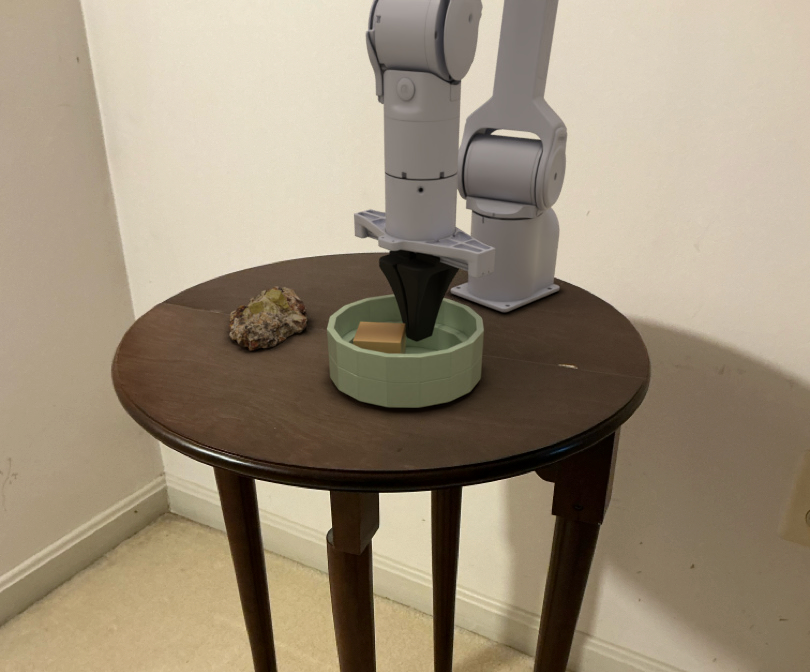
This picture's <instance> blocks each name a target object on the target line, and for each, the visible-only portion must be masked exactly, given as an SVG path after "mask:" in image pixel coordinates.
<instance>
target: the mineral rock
mask: <svg viewBox="0 0 810 672" xmlns="http://www.w3.org/2000/svg"><path fill="white" fill-rule="evenodd" d="M307 311H308V310H307V307H306V305H305V303H304V301H303V300H301V298H300V297H299V296H298V295H297V294H296V292H295V291H294V290H293V288H287V287H285V286H282V287H281V286H273V287H272V288H267V289H264V290H261V293H258V294H257V295H254V296H253V297H251V298H250V299H249V300H248V305H244V304H240V305H239V306H238V307H236V309H235V310H233V311H231V312H230V314H229V323H228V327H229V328H228V330H229V331H230V332H229V333H228V335H229V338H230V339H231V340H232V341H236V342H237V344H238V345H239V346H240V347H242V348H243V347H245V348H248V351H250V352H253V351H256V350H258V349H269V348H272V347H276V346H277V345H278V344H281V343H283V342H284V341H285V340H286V339H287V338H288V337H290V336H292V335H294V334H300V333H302V332H303V331H306V327H307V322H308V317H307V316H308V312H307Z"/></svg>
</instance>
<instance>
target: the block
mask: <svg viewBox="0 0 810 672" xmlns="http://www.w3.org/2000/svg"><path fill="white" fill-rule="evenodd" d="M353 345H355V346H357V347H360V348H362V349H367V350H372V351H378V352H383V353H388V354H406V324H405V323H382V322H360V324H359V326H358V329H357V332H356V334H355V337H354V339H353Z"/></svg>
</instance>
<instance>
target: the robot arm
mask: <svg viewBox="0 0 810 672" xmlns="http://www.w3.org/2000/svg"><path fill="white" fill-rule="evenodd" d="M558 7H559V0H503V7H502V16H501V22H500V23H501V24H500V32H499V40H498V47H497V54H496V63H495V64H496V65H495V72H494V81H493V88H492V95H491V96H490V98H488V99H487V100H486V101H485V102H484V103H483V104H481V105H480V106H479V107H478V108H476V109H475V110H474V111H473V112H471V113H470V114H469V115H468V116H467V117H466V118H465V124H464V127H463V134H462V138H461V141H460V123H461V100H462V99H461V96H462V80H463V79H465V77H466V76H467V74H468V73H469V72H470V69H471V67H472V64H473V63H474V61H475V56H476V53H477V47H478V40H479V39H478V38H479V27H480V21H481V18H482V15H483V13H482V11H483V8H484V7H483V2H482V0H372V3H371V6H370V9H369V14H368V22H367V31H365V44H366V50H367V55H368V61H369V62H370V65H371V67H372V70H373V72H374V73H373V74H374V80H375V96H377V102H378V103H379V104H381V105H383V155H384V157H383V158H384V159H383V161H384V164H383V165H384V201H385V202H384V211H380V210H377V209H372V208H369V209H366V210H363V211H359V212H355V213H353V223H354V224H353V225H354V237H355V238H356V237H357V238H360V239H367V238H369V239H373V240H376V241H377V246H378V247H379V248H382V249H385V250H387V251H389V252H388V254H385V255H382V256H380V257H379V258H378V267H379V269H380V270H381V272H382V273H383V275H384V277H385V278H386V280H387V282H388V284H389V286H390V288H391V291H392V293H393V294H394V296H395V298H396V301H397V304H398V308H399V311H400V315H401V318H402V322H403V323H405V324H406V337H407V338H409V339H411V340H413V341H416V342H418V341H421V340H423V339H425V338H428V337H430V336H432V334H433V330H434V326H435V323H436V319H437V316H438V312H439V309H440V306H441V303H442V301H443V298H445V295H446V293H447V291H448V289H449V287H450V286H451V283H452V282H453V280H454V278H455V277H456V275H457V273H458V272H459V270H463V271H465V272H468V273H467V275H468V278H467V282H465V283H462V284H459V285H456V286H453V287H451V288H450V293H451V294H452V295H455V296H457V297H460V298H463V299H465V300H468V301H471V302H474V303H477V304H479V305H481V306H484V307H487V308H490V309H493V310H495V311H497V312H500V313H508V312H511V311H513V310H516V309H518V308H520V307H523V306H526V305H528V304H530V303H533V302H535V301H538V300H540V299H542V298H544V297H547V296H549V295H551V294H554V293H556V292H559V291H560V286H559V285H558V284H555V283H554V282H555V274H556V266H557V258H558V249H559V242H560V232H561V231H560V230H561V229H560V223H559V218H558V215H557V213H556V212H555V210H554V208H552V207H553V206H554V205H555V204H556V203H557V201H558V200H559V198H560V195H561V192H562V189H563V185H564V183H565V182H564V181H565V176H566V168H567V155H566V151H567V141H568V128H567V126H566V123H565V122H564V121H563V119H562V118H561V116H559V114H558V113H557V112H556V111H555V110H554V109H553V108H552V107H551V106H550V105H549V103H548V102H547V101H546V99H545V92H546V86H547V79H548V74H549V67H550V66H549V65H550V61H551V53H552V47H553V45H552V44H553V41H554V40H553V39H554V33H555V26H556V21H557V20H556V19H557V13H558ZM501 130H505V131H515V132H525V133H531V134H534V135H536V136H537V137H538V138H528V137H519V136H509V135H502V134H501V135H500V134H493V133H494V132H496V131H501ZM458 194H459V196H460V198H461V199H463V200H464V201H465V209H466V210H470V211H471V218H470V234H468V233H467V232H465V231H464V230H462V229H461V228H459V227H457V206H458V205H457V203H458V202H457V201H458Z"/></svg>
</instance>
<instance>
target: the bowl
mask: <svg viewBox="0 0 810 672" xmlns="http://www.w3.org/2000/svg"><path fill="white" fill-rule="evenodd" d="M360 322H382V323H403V322H402V318H401V315H400V311H399V308H398V304H397V301H396V298H395V296H394V293H393V294H386V295H379V296H372V297H366V298H363V299H360V300H357V301H353V302H351V303H347V304H345V305H343V306H342V307H340V308H339V309H338V310H336V311H335V312H334V313H333V314H331V315H330V316H329V319H328V323H327V328H326V337H327V338H326V339H327V349H328V350H327V352H328V365H329V366H328V367H329V377H330V378H329V379H331V381H332V383H333V384H334V385H335V387H336V388H337V390H338V391H340V392H342V393H343V394H345V395H348V397H351V398H353V399H355V400H357V401H359V402H361V403H366V404H371V405H375V406H380V407H384V408H412V409H413V408H417V409H419V408H424V407H430V406H434V405H440V404H446V403H450V402H452V401H455V400H456V399H458V398H460V397H463V396H465V395H467V394H469V393H471V392H472V390H473V389H474V388H475V387H476V385H477V384H478V383H479V381H480V380H481V378H482V367H483V365H482V364H483V351H484V350H483V349H484V335H485V328H484V321H483V317H482V316H480V314H478V313H477V312H476V311H475V310H474V309H473V308H471V307H470V306H468V305H466V304H463V303H461V302H458V301H455V300H452V299H450V298H445V297H444V298H443V301H442V303H441V306H440V309H439V312H438V316H437V319H436V323H435V326H434V330H433V334H432V336H430V337H428V338H425V339H423V340H421V341H418V342H416V341H413V340H411V339H409V338H407V337H406V354H388V353H383V352H378V351H372V350H367V349H362V348H360V347H357V346H355V345H353V339H354V337H355V334H356V332H357V329H358V326H359V324H360Z"/></svg>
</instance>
